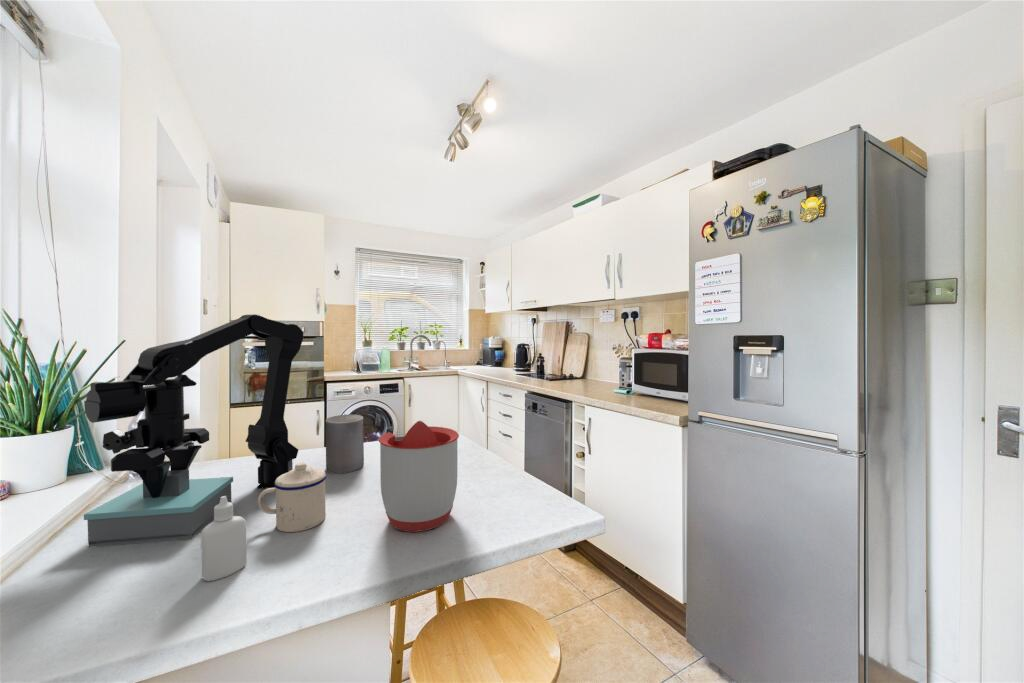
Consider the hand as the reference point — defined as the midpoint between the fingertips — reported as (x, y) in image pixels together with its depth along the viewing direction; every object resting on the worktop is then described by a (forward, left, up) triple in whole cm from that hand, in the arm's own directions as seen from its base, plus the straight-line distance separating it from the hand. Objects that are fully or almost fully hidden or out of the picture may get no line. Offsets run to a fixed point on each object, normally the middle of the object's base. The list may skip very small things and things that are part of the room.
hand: (166, 490), depth 77 cm
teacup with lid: (-24, +4, -7) cm, 25 cm away
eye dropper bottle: (-19, +19, -7) cm, 28 cm away
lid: (0, 0, -3) cm, 3 cm away
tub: (0, 0, -6) cm, 6 cm away
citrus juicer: (-48, +6, -7) cm, 49 cm away
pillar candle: (-27, -27, -7) cm, 39 cm away
